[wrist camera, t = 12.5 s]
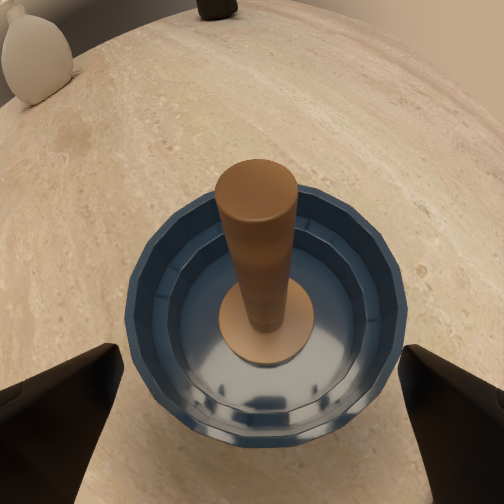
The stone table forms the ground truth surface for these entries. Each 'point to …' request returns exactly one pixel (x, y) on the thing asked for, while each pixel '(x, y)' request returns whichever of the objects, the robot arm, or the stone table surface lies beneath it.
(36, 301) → the stone table surface
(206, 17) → the mug
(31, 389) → the robot arm
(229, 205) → the wooden peg stand
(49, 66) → the soap bottle
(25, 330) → the stone table surface
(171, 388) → the bowl
